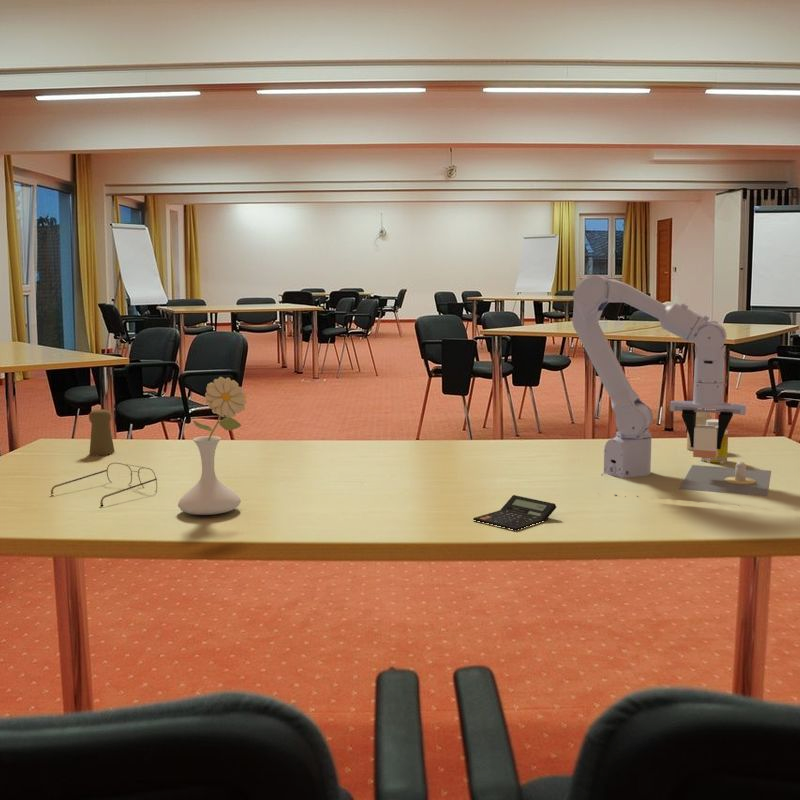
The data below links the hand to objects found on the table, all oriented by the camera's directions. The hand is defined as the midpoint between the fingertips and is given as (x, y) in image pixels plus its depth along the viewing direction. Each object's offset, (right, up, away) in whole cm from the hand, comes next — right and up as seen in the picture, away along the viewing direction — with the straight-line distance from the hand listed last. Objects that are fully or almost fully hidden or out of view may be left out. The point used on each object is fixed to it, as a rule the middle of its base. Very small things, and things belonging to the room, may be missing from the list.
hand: (705, 447), depth 180 cm
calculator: (-43, -12, -25) cm, 51 cm away
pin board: (+4, -8, 0) cm, 9 cm away
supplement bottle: (+8, -5, +18) cm, 20 cm away
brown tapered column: (-137, -4, +39) cm, 143 cm away
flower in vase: (-97, -11, -18) cm, 99 cm away
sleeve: (0, -2, 0) cm, 2 cm away
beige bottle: (+11, -3, +36) cm, 38 cm away
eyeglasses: (-122, -10, -2) cm, 123 cm away
